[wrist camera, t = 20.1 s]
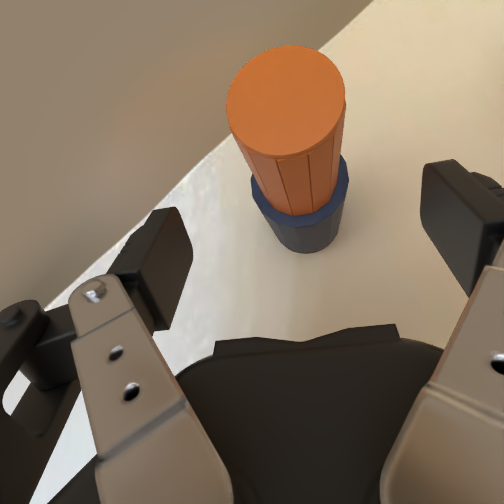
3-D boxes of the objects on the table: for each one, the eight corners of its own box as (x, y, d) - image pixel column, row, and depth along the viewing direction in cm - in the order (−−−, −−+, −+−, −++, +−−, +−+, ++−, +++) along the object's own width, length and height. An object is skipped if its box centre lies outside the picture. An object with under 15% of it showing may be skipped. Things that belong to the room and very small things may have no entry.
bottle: (333, 185, 35) (343, 84, 19) (344, 248, 34) (363, 196, 18) (270, 196, 36) (230, 110, 20) (278, 257, 35) (242, 216, 19)
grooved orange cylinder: (330, 139, 24) (335, 32, 14) (341, 209, 23) (354, 142, 14) (258, 153, 24) (220, 60, 15) (267, 220, 24) (231, 165, 14)
